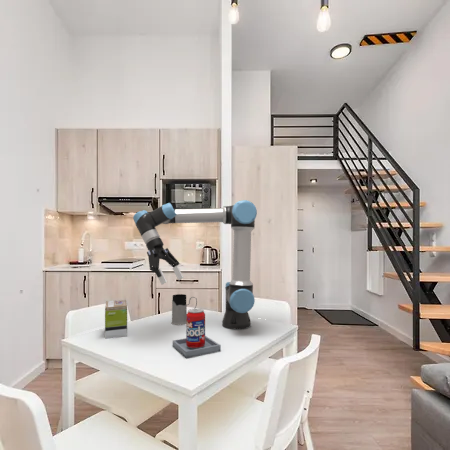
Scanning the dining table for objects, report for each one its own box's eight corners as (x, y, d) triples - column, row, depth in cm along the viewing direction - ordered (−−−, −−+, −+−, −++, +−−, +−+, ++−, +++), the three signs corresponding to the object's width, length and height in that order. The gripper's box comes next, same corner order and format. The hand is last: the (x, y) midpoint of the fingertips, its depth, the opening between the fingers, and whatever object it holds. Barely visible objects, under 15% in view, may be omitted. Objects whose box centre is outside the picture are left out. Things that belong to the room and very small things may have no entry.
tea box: (105, 330, 150) (105, 300, 151) (126, 328, 154) (126, 299, 155) (104, 339, 136) (105, 306, 137) (127, 336, 140) (127, 304, 141)
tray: (204, 340, 134) (204, 335, 134) (220, 351, 121) (220, 345, 121) (172, 346, 126) (172, 340, 127) (186, 358, 113) (186, 351, 114)
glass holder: (170, 321, 166) (170, 294, 167) (195, 319, 170) (195, 293, 171) (172, 326, 157) (172, 297, 158) (198, 323, 162) (198, 295, 163)
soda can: (204, 343, 128) (204, 307, 129) (205, 349, 120) (205, 312, 121) (186, 344, 127) (186, 308, 128) (186, 350, 119) (186, 312, 120)
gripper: (162, 244, 153) (181, 280, 148) (129, 246, 130) (150, 289, 125) (173, 236, 151) (192, 273, 146) (141, 237, 128) (162, 281, 123)
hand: (173, 281), depth 135 cm, fingers open, 13 cm apart
